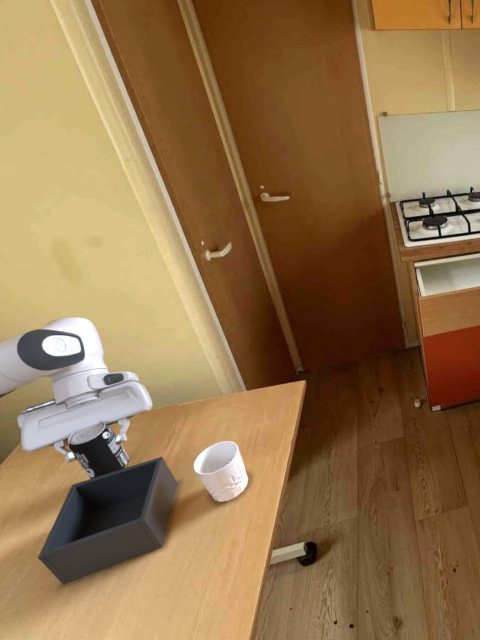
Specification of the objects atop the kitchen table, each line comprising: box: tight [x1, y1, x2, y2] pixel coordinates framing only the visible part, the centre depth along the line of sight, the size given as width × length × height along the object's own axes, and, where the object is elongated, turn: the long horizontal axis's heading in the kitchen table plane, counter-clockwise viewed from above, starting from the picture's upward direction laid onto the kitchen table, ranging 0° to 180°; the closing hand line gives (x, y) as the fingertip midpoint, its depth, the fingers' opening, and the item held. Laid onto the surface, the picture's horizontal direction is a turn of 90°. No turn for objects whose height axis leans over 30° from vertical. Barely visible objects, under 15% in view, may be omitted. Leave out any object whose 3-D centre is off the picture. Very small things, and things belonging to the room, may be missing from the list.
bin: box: [37, 456, 178, 585], centre depth 82 cm, size 15×15×9 cm
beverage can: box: [68, 421, 130, 479], centre depth 90 cm, size 7×7×12 cm
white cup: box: [192, 440, 249, 503], centre depth 90 cm, size 8×8×10 cm
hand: (98, 451), depth 89 cm, fingers closed on beverage can, 6 cm apart
